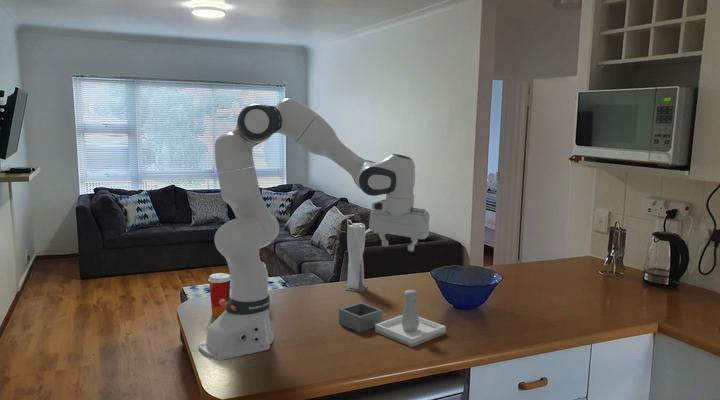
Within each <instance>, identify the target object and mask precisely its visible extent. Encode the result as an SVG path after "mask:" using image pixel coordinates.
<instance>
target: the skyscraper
mask: <svg viewBox="0 0 720 400" xmlns="http://www.w3.org/2000/svg"><path fill="white" fill-rule="evenodd" d="M349 223H351V224H349ZM346 224H347V230H346V231H347V233H346V234H347V235H346V242H347V253H348V261H347V262H348V264H347V276H346V277H347V281H346V283H347V284H346V287H347V288H345V291H349V292H356V293H363V292H364V291H366V289H367V288H368V287H369V286H368V285H365V269H364V267H365V266H364V257H363V256H364V252H365V246H366V245H365V244H366V225H365V224H364V223H362V222H359V223H357V222H356V223H355V222H354V223H353V222H352V220H351V219H346Z"/></svg>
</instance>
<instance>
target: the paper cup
mask: <svg viewBox="0 0 720 400" xmlns="http://www.w3.org/2000/svg"><path fill="white" fill-rule="evenodd" d="M207 281H208V282H209V283H208V284H209V293H210V305H211V306H210V307H211V315H212V316H213V317H214V318H216V319H217V318H218V317H219V316H220V315H221V314H222V313H223V312H224V311H225V310H226V307H223V306H221V305H220V303H219V301H220V300H221V299H224V300H226V301H227V302H228V301H229V299H230V296H231V279H230V273H224V272H218V273H217V272H216V273H212V274H211V275H209V277H208V279H207Z"/></svg>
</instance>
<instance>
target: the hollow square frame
mask: <svg viewBox="0 0 720 400" xmlns="http://www.w3.org/2000/svg"><path fill="white" fill-rule="evenodd" d="M380 322H383V310H382V309H380V308H378V307H376V306H372V305H370V304H367V303H364V302H358V303H354V304H352V305H349V306H345V307H342V308H339V309H338V324H340V325H342V326H344V327H346V328H349V329H351V330H353V331H356V332H357V333H361V332H364V331H367V330H370V329H374V328H375V324H378V323H380Z"/></svg>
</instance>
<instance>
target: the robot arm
mask: <svg viewBox="0 0 720 400" xmlns="http://www.w3.org/2000/svg"><path fill="white" fill-rule="evenodd" d="M274 134H282V135H284V136H286V137H287V138H289V140H290V141H292V142H294V143H295V144H296V145H297V146H299V147H301V148H302V149H303V150H305V151H307V152H309V153H311V154H313V155H316V156H322V157H325V158H327V159H329V160H331V161H332V162H334V163H335V164H337V165H338V166H339V167H341V168H342V169H343V170H344V171H346V172H347V173H348V174H349V175H351V177H352V179H353V181H354V183H355V185H356V186H357V187H358V188H359V189H360V190H361V191H362V192H363V193H364V194H366V195H367V196H370V197H371V196H373V197H374V196H375V197H376V196H381V195H382V196H383V195H385V199H382V200H379V201H374V202H372V203H371V209H372V210H371V212H370V214H369V221H368V222H369V223H368V228H369V229H370V231H372V232H376V233H378V236H379V238H380V240H381V247H385V248H387V247H388V246H389V240H388V239H387V238H386V236H385V235H387V234H388V235H393V236H394V235H395V236H400V237H405V238H410V241H411V243H410V244H408V245H407V251H408V252H415V245H416V244H417V243H418V241H419V240H425V239H427V238H428V237H429V235H430V223H429V221H430V213H429V212H428V211H427V210H426V209H425V208H417V207H415V206H414V205H415V193H414V187H415V184H416V166H415V162H414V160H413V158H411V157H409V156H406V155H402V154H398V153H392V154H390V155H389V156H387V157H386V158H384V159H381V160H380V161H377V162H375V161H373V160H368V159H364V158H362V157H360V156H359V155H358V154H357V153H355V152H354V151H352V149H350V148H349V147H348V146H346V145H345V144H344V143H343V142H342V141H341V140H340V138H339V137H338V136H337V133H336V132H335V130H334V129H333V127H332V126H331V125H330V124H329V123H328V122H327V120H326V119H324V118H323V116H320V115H319V114H318V113H317V112H315V110H313V109H311V108H310V107H308V106H307V105H305V104H303V103H302V102H300V101H299V100H296V99H294V98H292V97H287V98H283V99H282V100H280V101H278V102H277V104H276V105H271V104H270V105H268V104H263V103H251V104H248V105H246V106H245V107H244V108H243V109H242V110H241V111H240V112H239V115H238V116H237V121H236V127H235V129H234V130H232V131H231V132H225V133H223V134H221V135H219V136H218V138H216V140H215V143H214V157H215V158H214V159H215V167H216V169H215V170H216V173H217V178H218V184H219V189H220V195H221V198H222V200H223V202H225V204H227V205H229V206H230V209H232V211H233V213H234V216H235V218H233V219H231V220H228V221H227V222H225V223H223V224H222V225H221V226H220V227H218V229H217V230H216V232H215V234H214V244H215V245H214V246H215V248H216V250H217V252H219V253H220V254H221V255H222V256H223V257H224V258H225V260H226V263H227V267H228V270H229V275H230V279H231V280H230V299H229V301H228V302H227V301H226V300H224V299H221V300H220V301H219V303H220V305H221V306H223V307H226V310H225V311H224V312H223V313H222V314H221V315H220V316H219V317H218V318H217V317H216V319H214V320H213V322H212V323H211V324H210V325H209V326H208V328H207V331H206V339H205V340H202V341H200V342H199V343H198V350H199V351H200V352H201V353H202V354H204V355H205V356H206V357H208V358H211V359H216V360H228V359H232V358H237V357H241V356H245V355H246V356H247V355H249V354H254V353H260V352H264V351H268V350H270V348H271V344H273V342H274V341H275V336H274V333H273V331H272V326H271V320H270V312H269V311H270V306H271V305H270V303H271V301H270V300H271V298H270V294H269V272H268V269H267V268H265V267H264V266H263V265H262V263H261V262H262V261H261V257H260V249H263V248H265V247H268V246H269V245H271V244H272V243H273V242H274V240H276V238H278V235H279V233H280V223H279V221H278V219H277V218H276V216H275V215H273V214H272V213H271V211H269V209H268V207H267V205H266V203H265V201H264V198H263V196H262V194H261V193H262V192H261V190H260V185H259V181H258V176H257V171H256V168H255V163H254V156H253V149H254V147H255V146H257V145H259V144H262V143H264V142H266V141H268V140H269V139H270V138H271V137H272V136H273V135H274Z"/></svg>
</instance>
